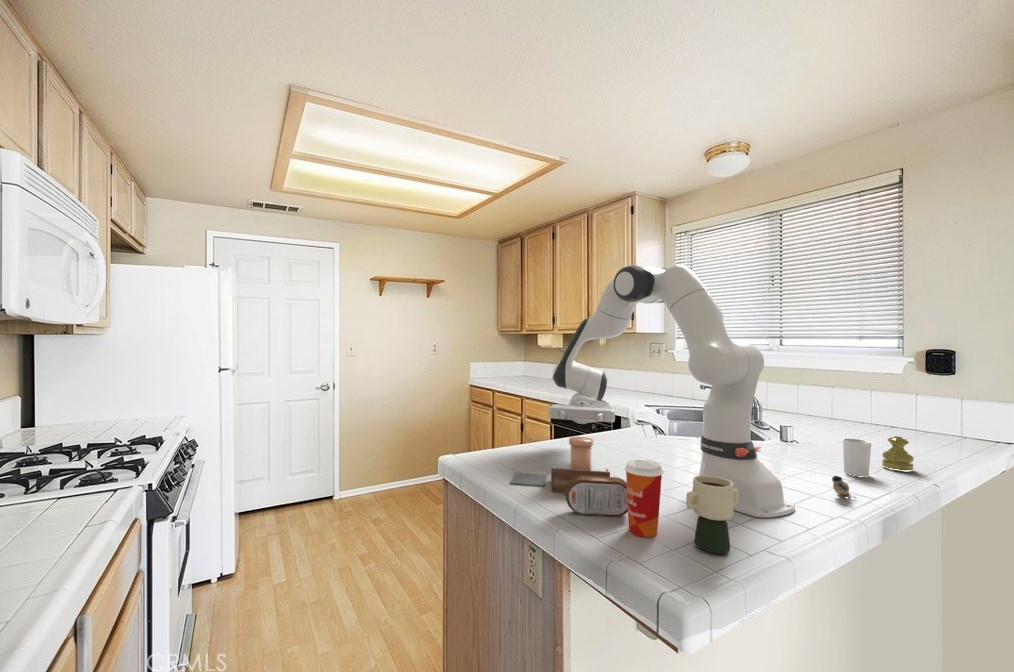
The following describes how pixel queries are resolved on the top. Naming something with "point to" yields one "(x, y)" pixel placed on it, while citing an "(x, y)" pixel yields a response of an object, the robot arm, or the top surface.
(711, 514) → the character mug
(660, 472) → the paper cup
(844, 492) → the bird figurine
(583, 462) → the peach capped cylinder
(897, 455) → the gold chess piece
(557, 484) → the wooden u-shaped open frame
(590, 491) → the tin
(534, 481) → the slate mat
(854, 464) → the white cup
